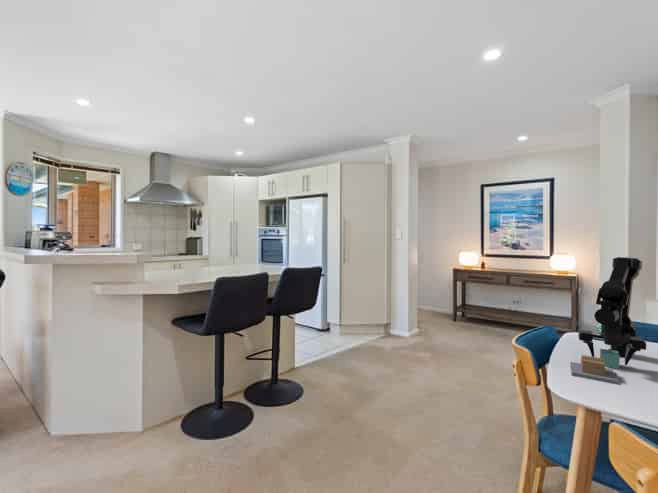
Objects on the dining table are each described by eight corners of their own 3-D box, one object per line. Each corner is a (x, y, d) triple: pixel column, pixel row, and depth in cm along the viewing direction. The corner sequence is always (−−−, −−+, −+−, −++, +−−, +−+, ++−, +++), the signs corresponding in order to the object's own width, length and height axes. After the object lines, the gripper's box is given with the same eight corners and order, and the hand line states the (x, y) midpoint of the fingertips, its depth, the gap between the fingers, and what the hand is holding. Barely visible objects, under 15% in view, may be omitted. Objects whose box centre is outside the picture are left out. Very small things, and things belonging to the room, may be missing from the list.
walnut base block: (580, 365, 121) (581, 354, 121) (602, 369, 118) (602, 358, 118) (582, 371, 116) (582, 360, 116) (604, 376, 113) (605, 364, 113)
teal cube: (599, 361, 128) (600, 348, 128) (616, 364, 126) (617, 351, 125) (601, 365, 124) (601, 352, 124) (619, 369, 121) (619, 355, 121)
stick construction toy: (608, 340, 146) (598, 323, 150) (591, 345, 150) (582, 329, 155) (619, 343, 152) (609, 326, 156) (602, 348, 156) (593, 332, 161)
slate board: (570, 364, 125) (570, 361, 125) (612, 372, 119) (612, 369, 119) (571, 375, 116) (571, 372, 116) (617, 384, 109) (617, 381, 109)
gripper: (581, 321, 122) (579, 363, 123) (651, 330, 112) (648, 376, 113) (579, 314, 132) (577, 354, 133) (643, 322, 121) (641, 365, 122)
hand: (609, 362), depth 125 cm, fingers open, 9 cm apart
